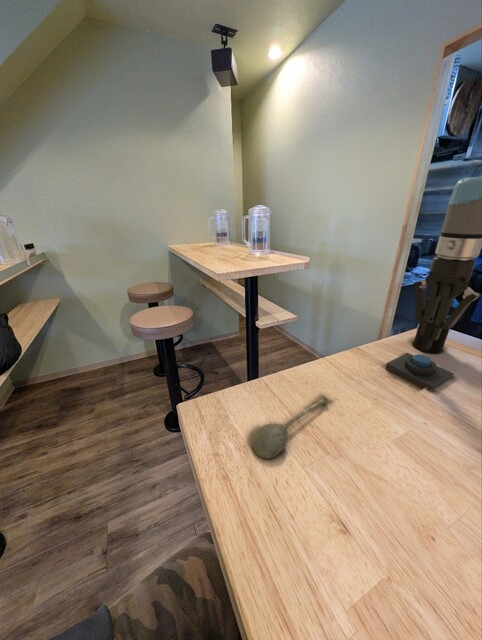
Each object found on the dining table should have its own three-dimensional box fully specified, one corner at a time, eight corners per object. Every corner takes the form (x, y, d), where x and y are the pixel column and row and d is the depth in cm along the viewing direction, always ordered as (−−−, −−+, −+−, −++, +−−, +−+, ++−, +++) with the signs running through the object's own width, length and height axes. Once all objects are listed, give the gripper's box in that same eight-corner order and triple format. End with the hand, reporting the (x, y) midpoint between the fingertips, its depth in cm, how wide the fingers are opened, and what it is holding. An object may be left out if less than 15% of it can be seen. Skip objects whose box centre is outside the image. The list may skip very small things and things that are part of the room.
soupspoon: (245, 444, 52) (266, 469, 47) (245, 433, 50) (266, 458, 46) (315, 394, 63) (337, 411, 58) (316, 384, 61) (340, 400, 57)
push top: (432, 365, 67) (434, 359, 66) (424, 370, 65) (426, 364, 64) (416, 358, 70) (418, 352, 69) (408, 362, 68) (410, 357, 67)
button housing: (451, 380, 66) (456, 367, 65) (431, 394, 62) (435, 381, 60) (405, 358, 76) (408, 347, 74) (385, 369, 72) (387, 357, 70)
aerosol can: (409, 348, 81) (426, 289, 73) (415, 338, 86) (431, 282, 78) (440, 357, 76) (463, 294, 67) (444, 346, 81) (465, 287, 73)
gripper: (414, 254, 59) (391, 341, 69) (484, 264, 49) (446, 365, 59) (431, 250, 62) (407, 334, 72) (500, 259, 52) (461, 355, 62)
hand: (424, 348), depth 65 cm, fingers closed
